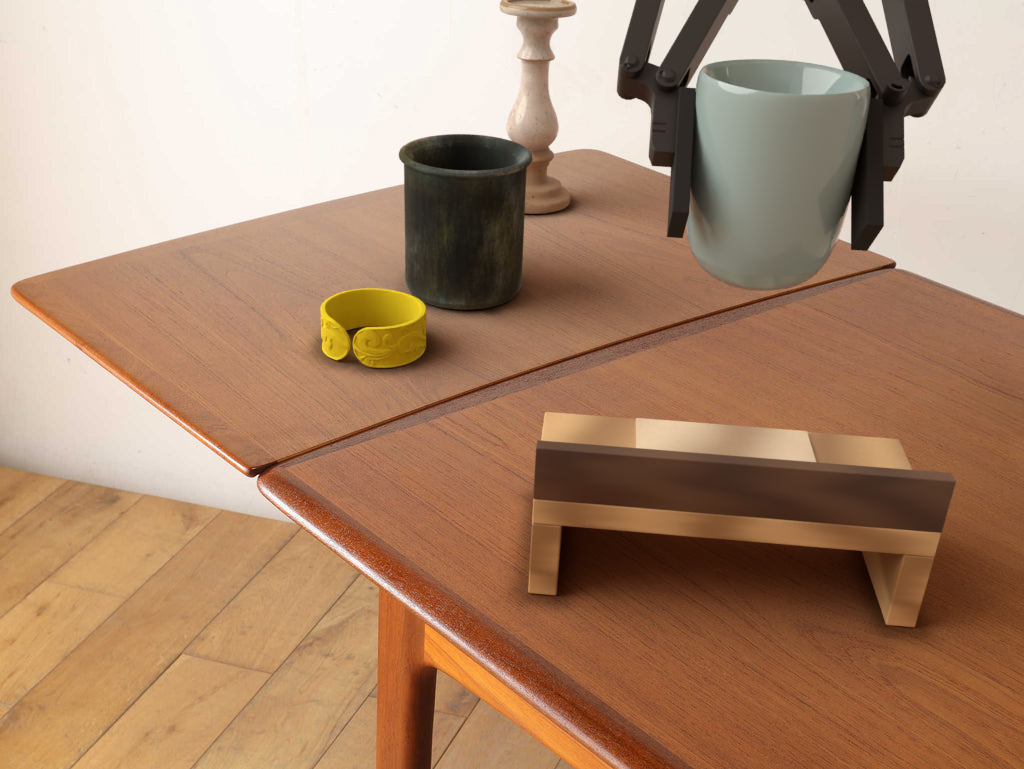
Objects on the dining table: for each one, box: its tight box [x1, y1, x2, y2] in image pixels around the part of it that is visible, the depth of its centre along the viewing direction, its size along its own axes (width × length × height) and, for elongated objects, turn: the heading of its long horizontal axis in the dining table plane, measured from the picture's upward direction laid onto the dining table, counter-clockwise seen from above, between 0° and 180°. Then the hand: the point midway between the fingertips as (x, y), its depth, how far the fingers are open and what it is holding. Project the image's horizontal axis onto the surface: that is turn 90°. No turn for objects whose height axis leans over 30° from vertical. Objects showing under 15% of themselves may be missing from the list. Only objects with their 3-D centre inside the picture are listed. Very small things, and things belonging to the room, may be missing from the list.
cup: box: [685, 58, 871, 292], centre depth 51 cm, size 8×8×10 cm
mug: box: [398, 133, 532, 311], centre depth 90 cm, size 11×15×12 cm
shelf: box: [527, 411, 957, 628], centre depth 57 cm, size 20×9×9 cm, turn 85°
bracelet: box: [319, 287, 427, 369], centre depth 80 cm, size 7×8×3 cm
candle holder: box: [498, 0, 578, 215], centre depth 108 cm, size 9×9×20 cm
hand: (771, 231), depth 49 cm, fingers closed on cup, 8 cm apart
